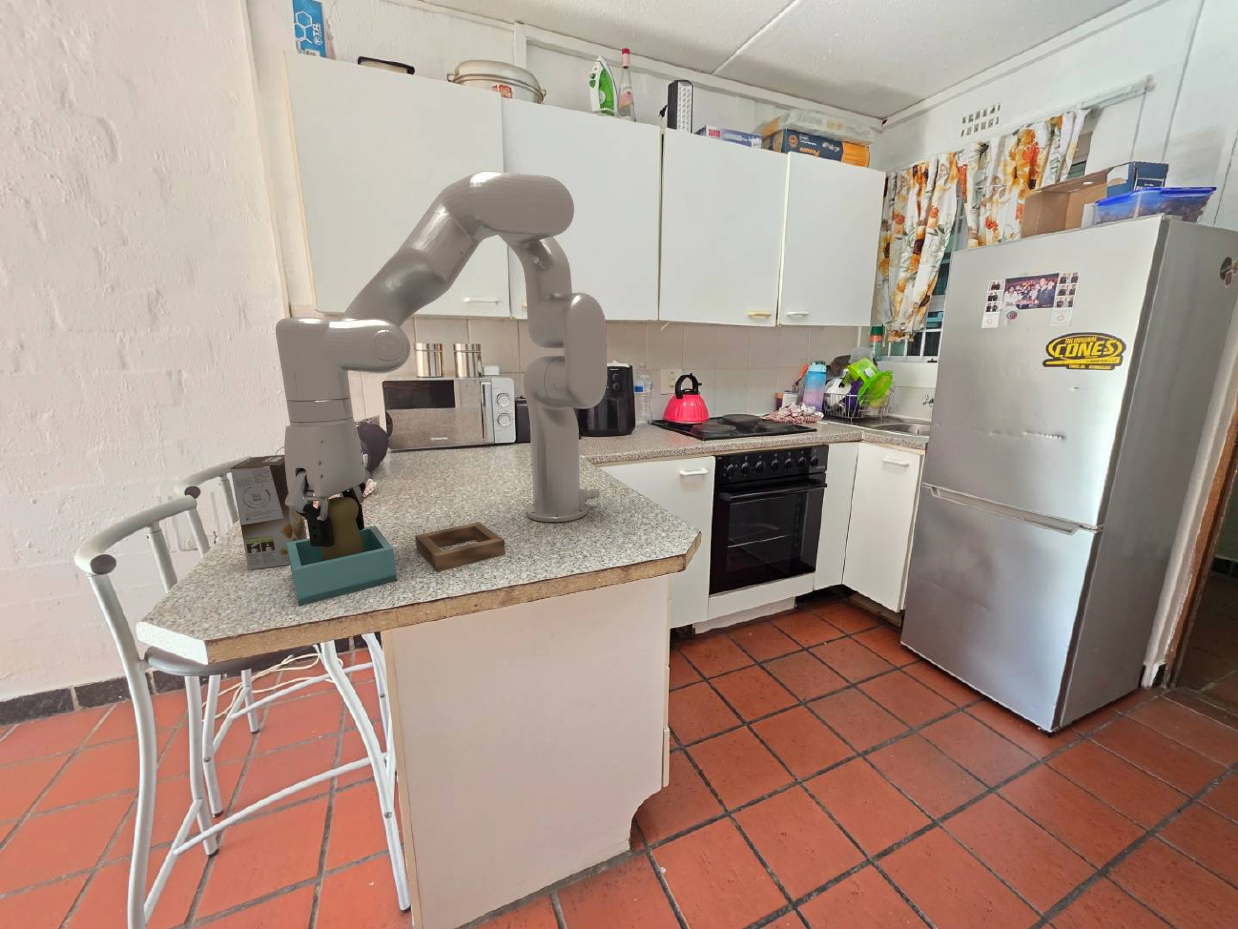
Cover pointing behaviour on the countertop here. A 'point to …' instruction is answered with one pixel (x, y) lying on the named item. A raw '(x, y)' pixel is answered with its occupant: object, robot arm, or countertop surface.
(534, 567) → the countertop surface
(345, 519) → the cork
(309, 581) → the teal bin
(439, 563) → the walnut collar
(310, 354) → the robot arm
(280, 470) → the coffee box
